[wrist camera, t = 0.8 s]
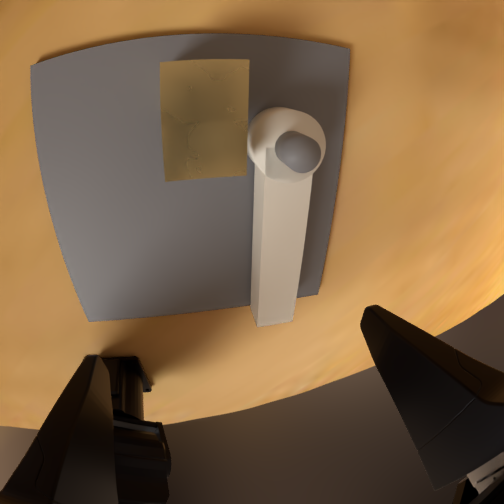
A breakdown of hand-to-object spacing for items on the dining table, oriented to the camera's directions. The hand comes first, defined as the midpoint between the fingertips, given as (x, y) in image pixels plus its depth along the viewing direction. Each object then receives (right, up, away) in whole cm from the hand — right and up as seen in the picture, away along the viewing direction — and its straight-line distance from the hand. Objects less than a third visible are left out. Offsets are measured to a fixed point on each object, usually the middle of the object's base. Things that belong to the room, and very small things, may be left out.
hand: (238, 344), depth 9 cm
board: (-4, +7, +10) cm, 13 cm away
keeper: (-3, +12, +8) cm, 14 cm away
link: (+2, +5, +12) cm, 13 cm away
